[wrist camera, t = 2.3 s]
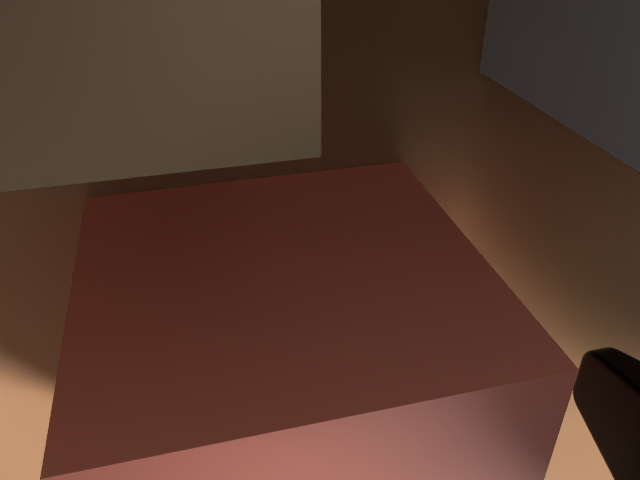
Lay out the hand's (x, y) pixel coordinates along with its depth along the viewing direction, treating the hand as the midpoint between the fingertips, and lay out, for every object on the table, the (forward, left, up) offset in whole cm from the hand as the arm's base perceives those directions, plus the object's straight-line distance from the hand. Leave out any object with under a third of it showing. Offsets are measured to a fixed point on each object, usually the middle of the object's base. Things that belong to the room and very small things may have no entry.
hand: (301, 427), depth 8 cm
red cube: (0, 0, -3) cm, 3 cm away
